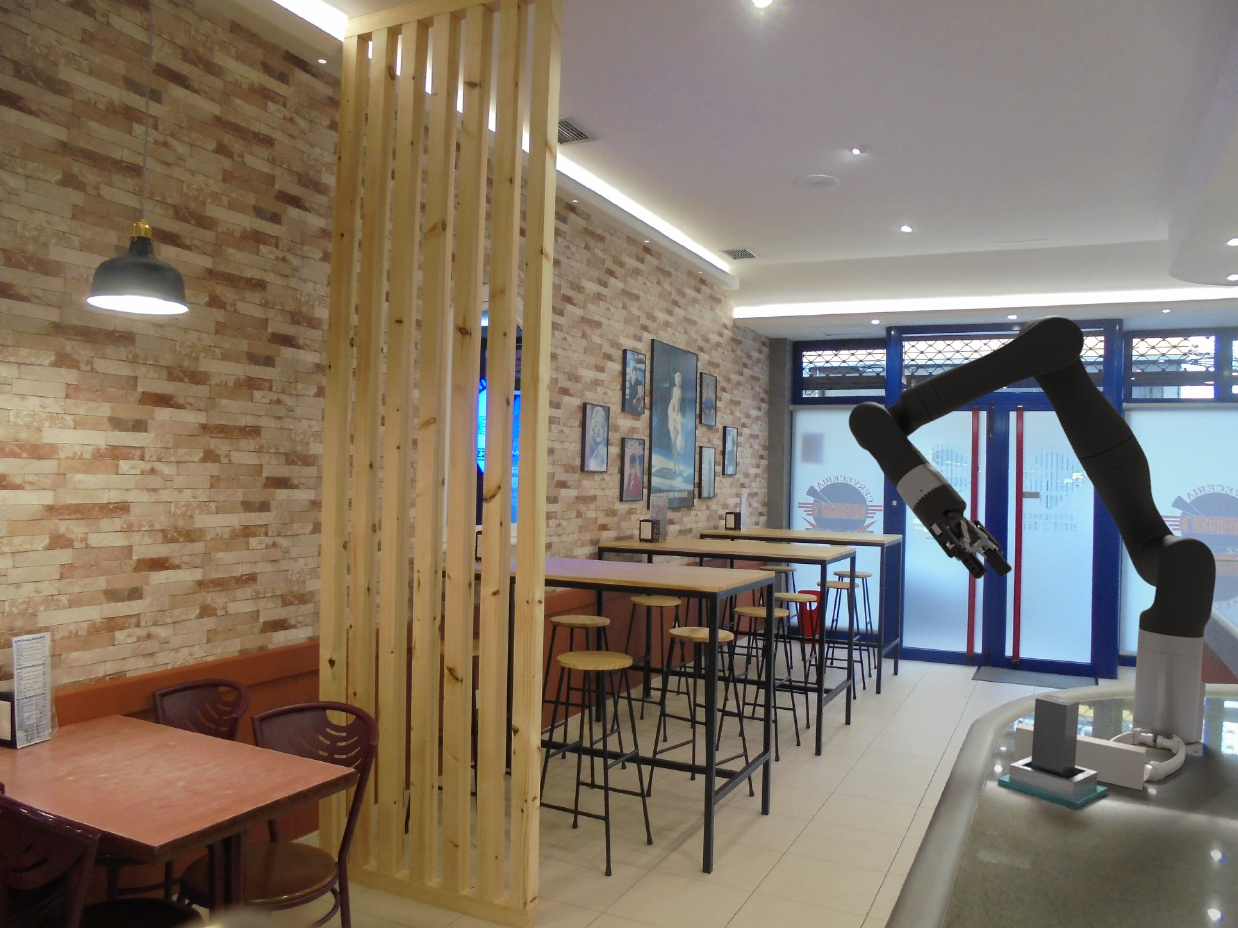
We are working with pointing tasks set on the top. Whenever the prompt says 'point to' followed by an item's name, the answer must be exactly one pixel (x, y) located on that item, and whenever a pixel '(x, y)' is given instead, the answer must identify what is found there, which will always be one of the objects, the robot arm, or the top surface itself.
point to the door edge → (1095, 757)
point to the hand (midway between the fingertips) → (995, 574)
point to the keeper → (1054, 784)
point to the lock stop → (1055, 735)
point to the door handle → (1142, 736)
